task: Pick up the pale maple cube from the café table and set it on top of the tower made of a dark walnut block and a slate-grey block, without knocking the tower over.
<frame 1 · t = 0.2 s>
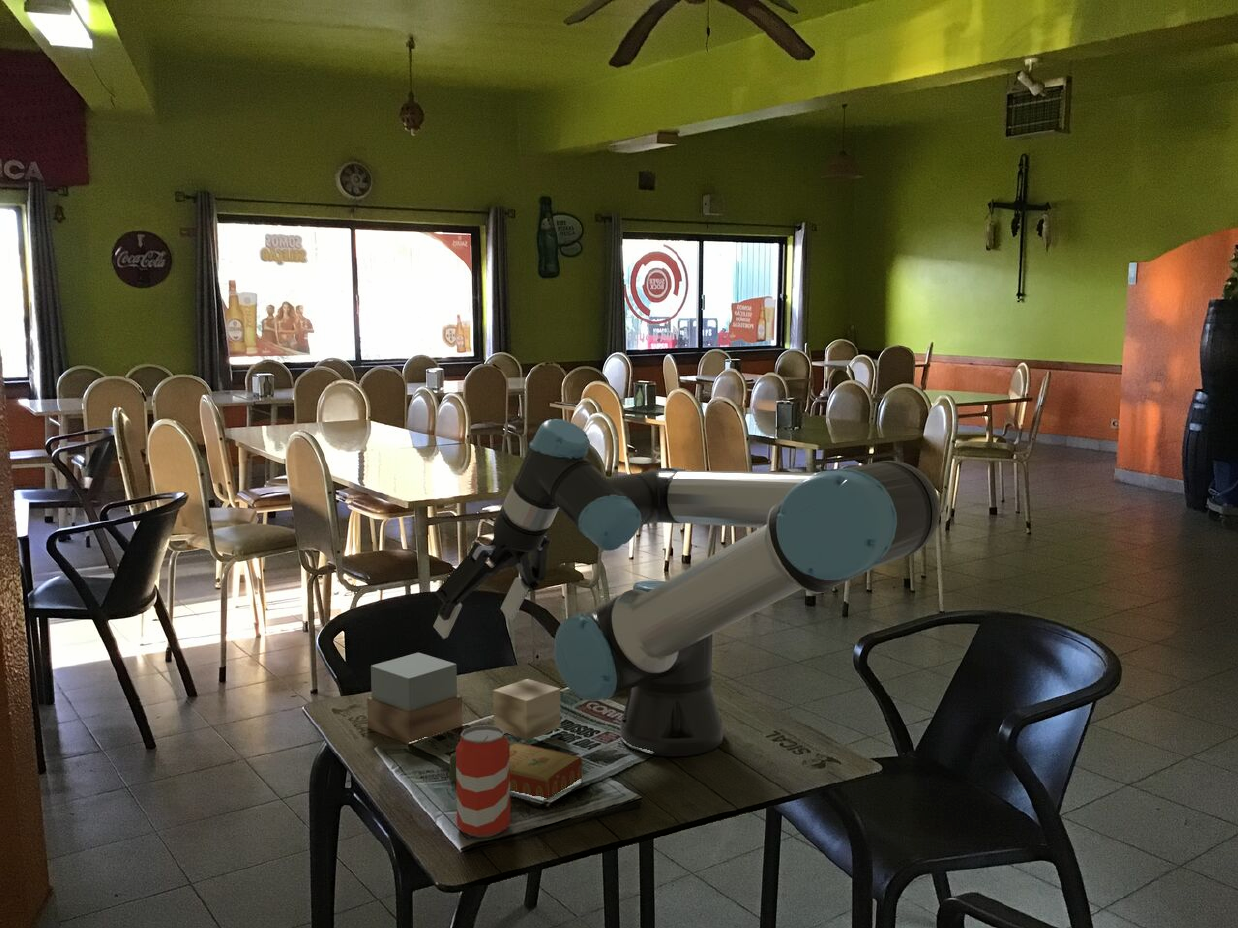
hand: (474, 622, 167), 15 cm above the table, tool tilted 30°, fingers open, 13 cm apart
tower base: (415, 728, 165), on the table, touching tower top
tower top: (414, 697, 165), point 5 cm above the table, touching tower base
carton: (515, 785, 145), on the table
beverage can: (484, 830, 132), on the table
tin: (623, 682, 186), on the table
maple cube: (527, 734, 162), on the table
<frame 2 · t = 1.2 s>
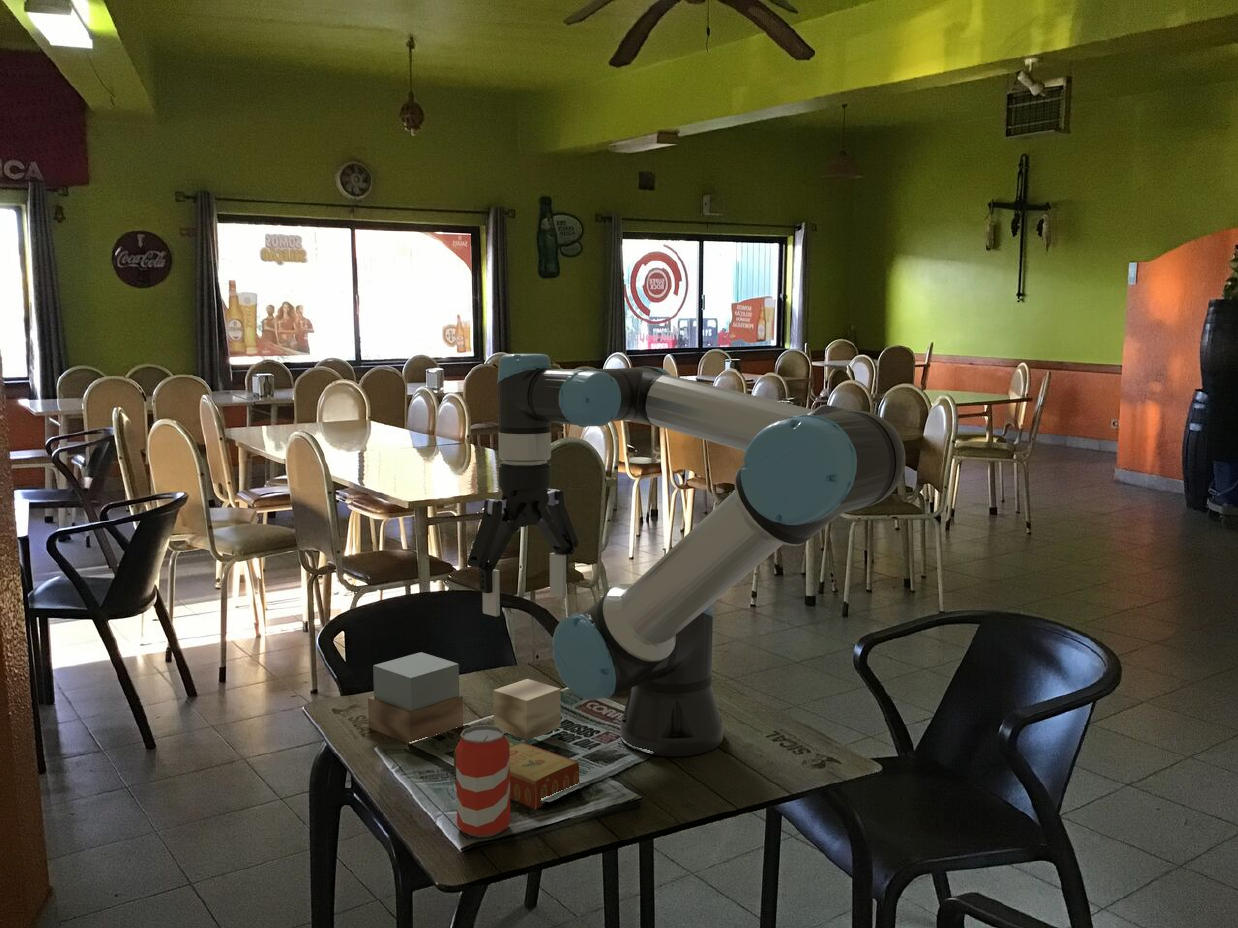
hand: (525, 605, 160), 20 cm above the table, tool pointing down, fingers open, 13 cm apart
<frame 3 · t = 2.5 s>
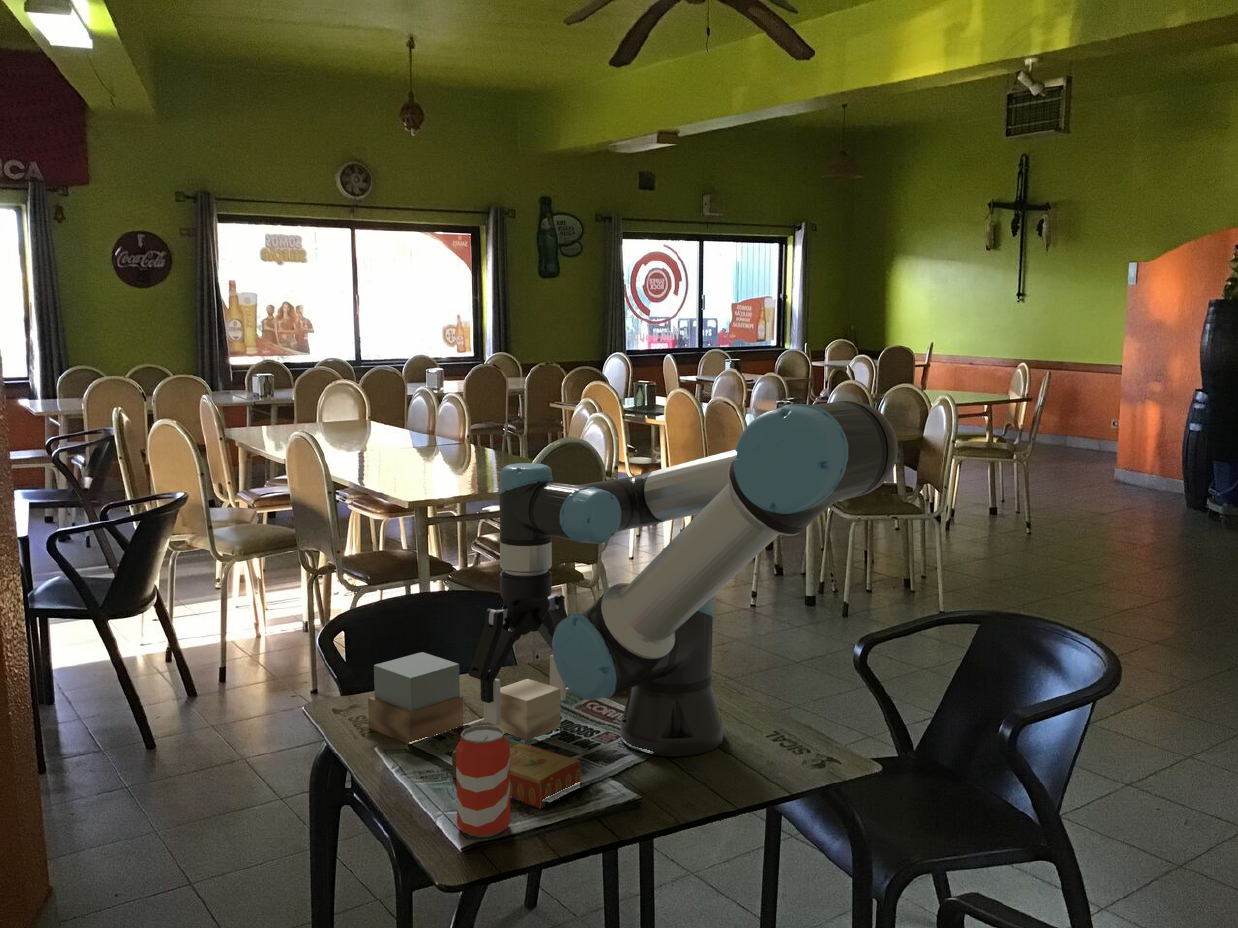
hand: (525, 709, 162), 4 cm above the table, tool pointing down, fingers open, 13 cm apart
nothing on the table moved.
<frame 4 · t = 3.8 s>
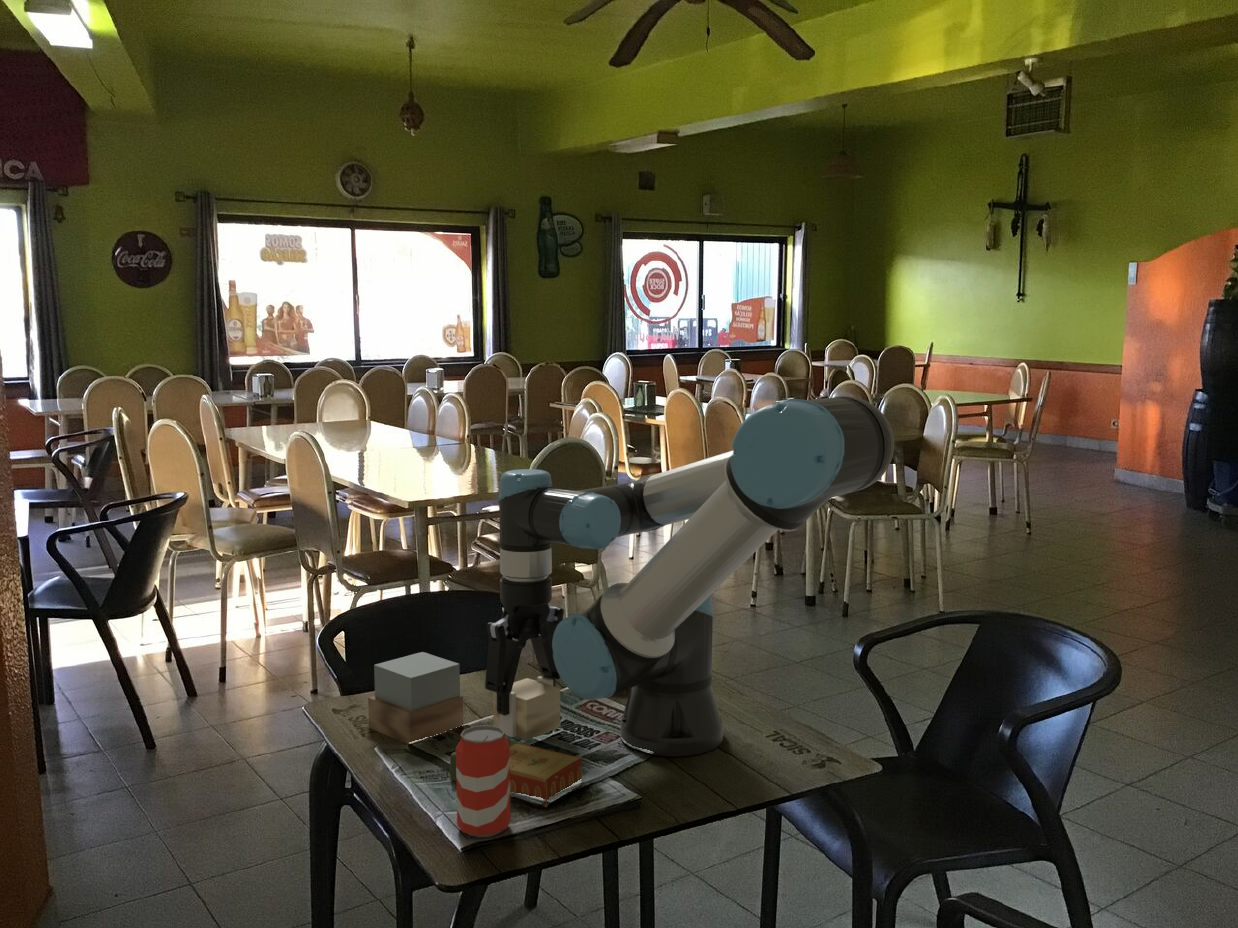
hand: (527, 726, 162), 1 cm above the table, tool pointing down, fingers closed on maple cube, 7 cm apart
maple cube: (527, 734, 162), on the table, touching gripper
everything else where it was.
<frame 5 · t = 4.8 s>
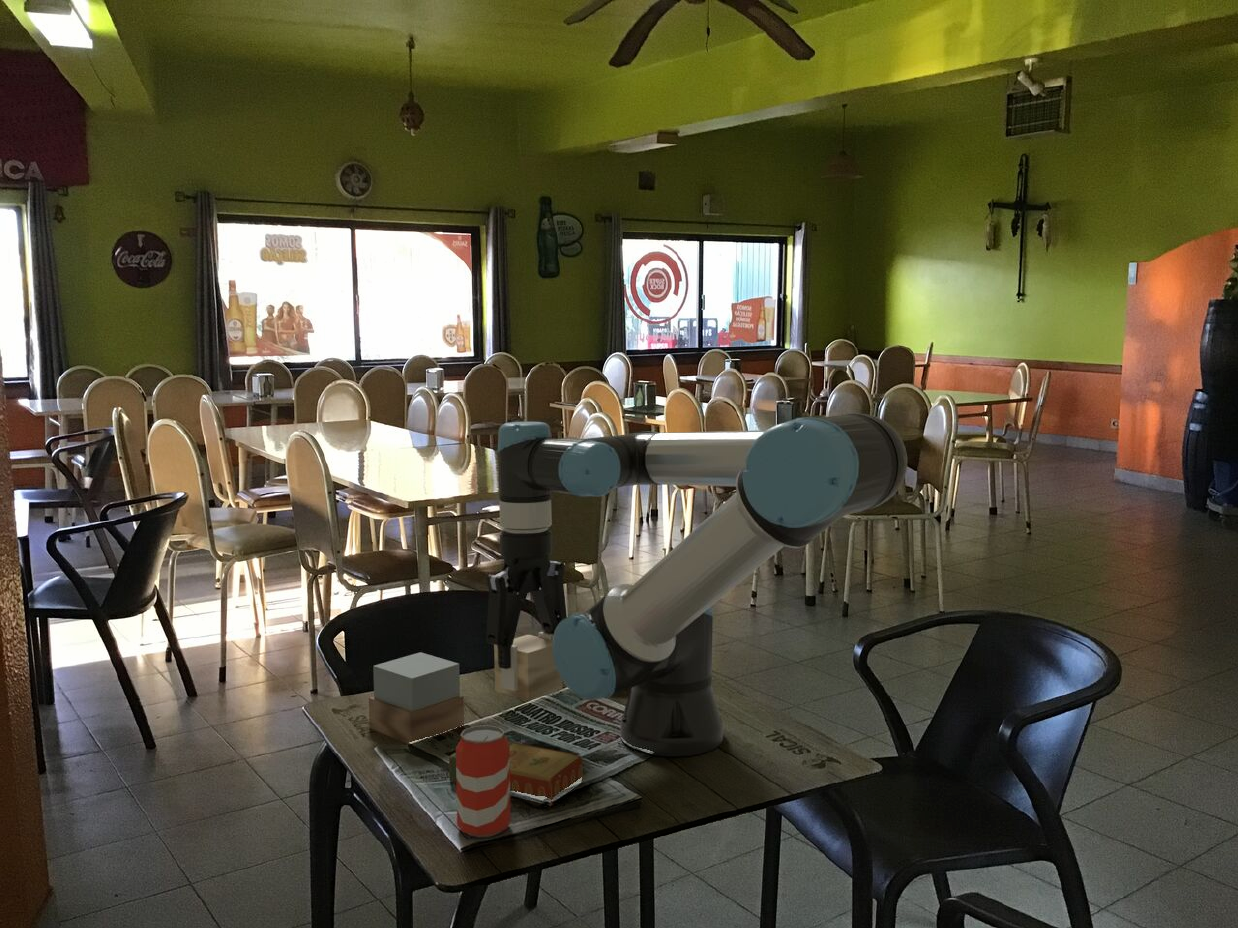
hand: (528, 681, 161), 8 cm above the table, tool pointing down, fingers closed on maple cube, 7 cm apart
tower base: (416, 728, 165), on the table
tower top: (417, 696, 164), point 5 cm above the table
maple cube: (528, 689, 161), point 7 cm above the table, touching gripper
everything else where it was.
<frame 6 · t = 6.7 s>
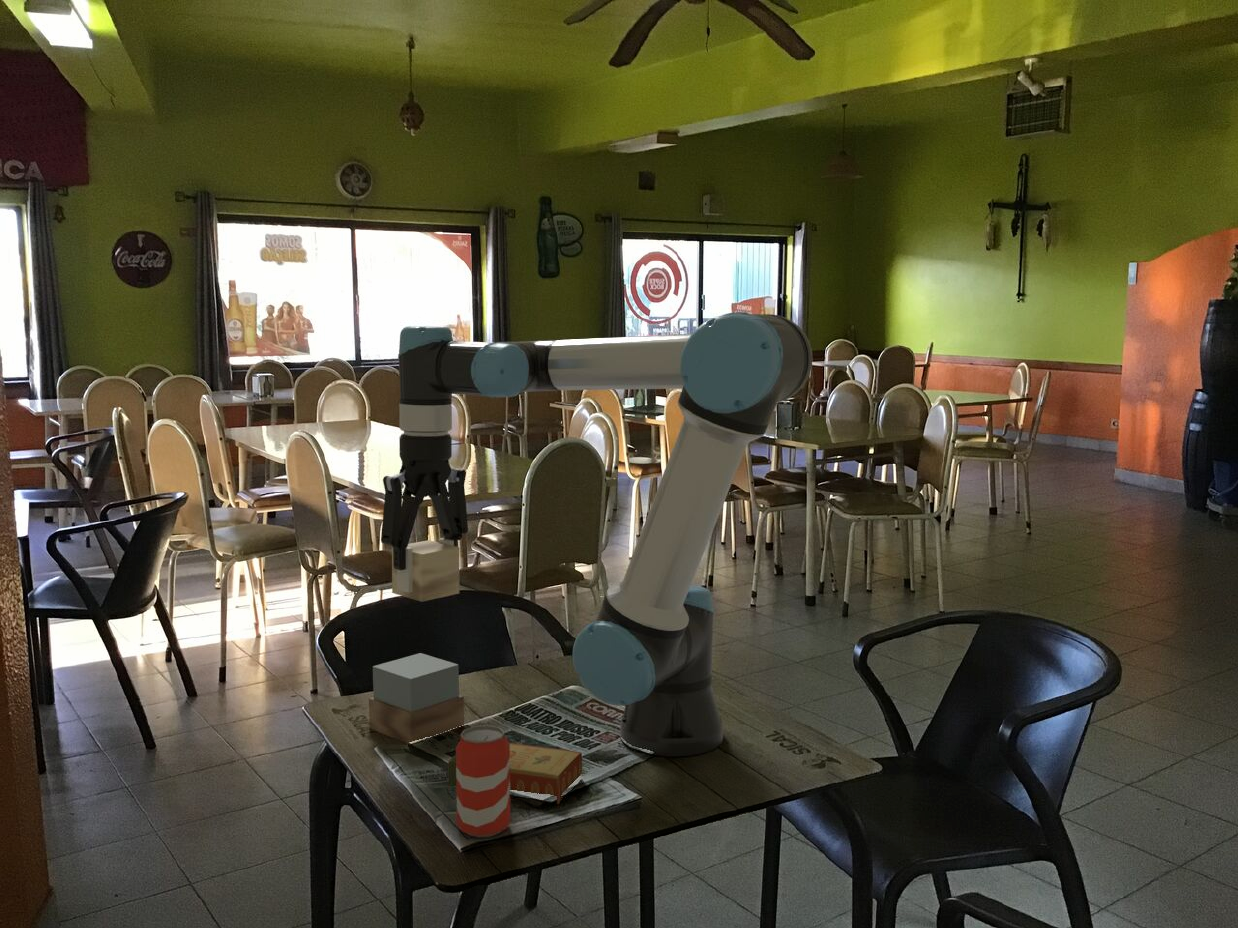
hand: (425, 585, 162), 22 cm above the table, tool pointing down, fingers closed on maple cube, 7 cm apart
tower base: (417, 728, 165), on the table, touching tower top
tower top: (416, 697, 164), point 5 cm above the table, touching tower base
maple cube: (425, 593, 162), point 21 cm above the table, touching gripper
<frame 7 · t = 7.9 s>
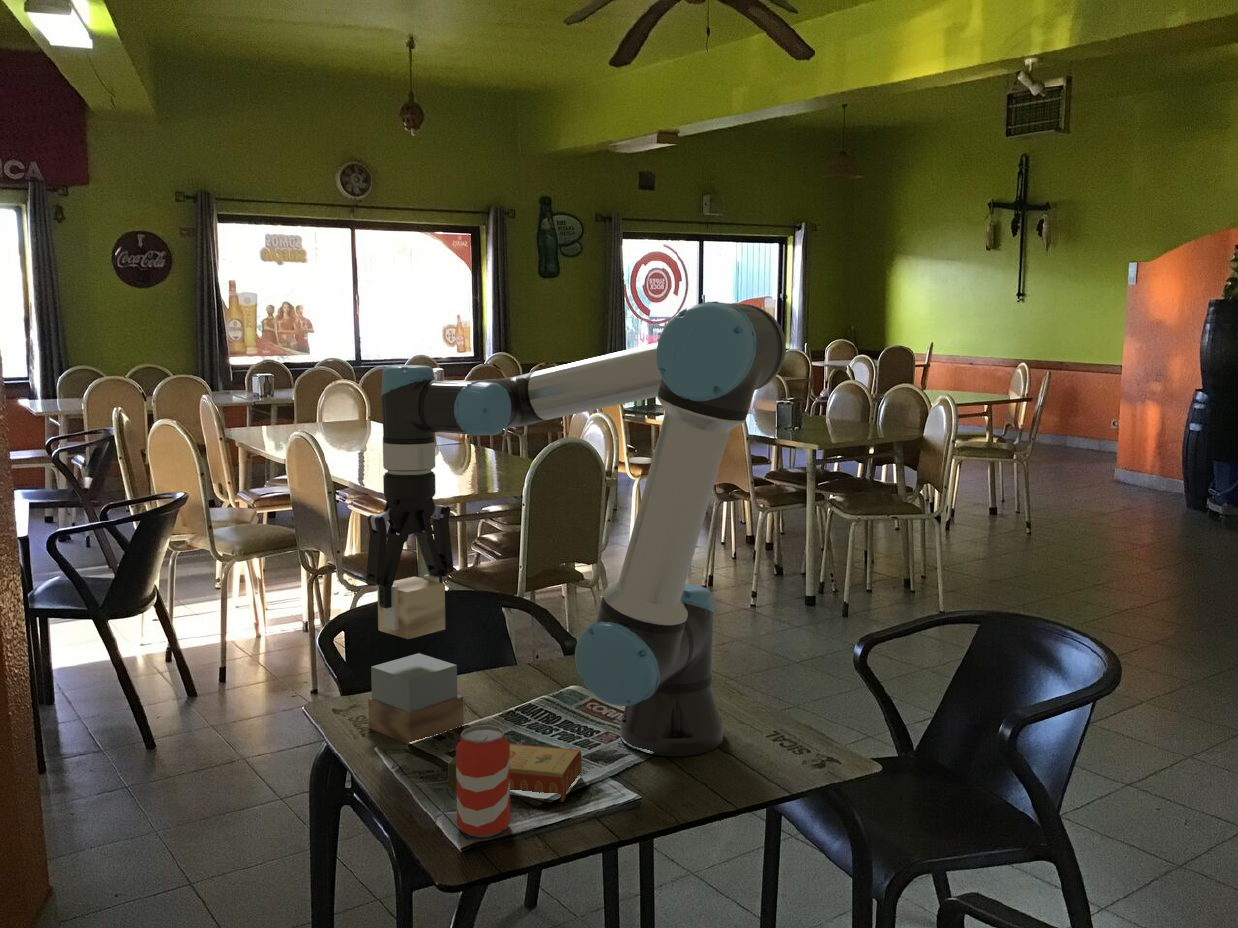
hand: (411, 622, 163), 16 cm above the table, tool pointing down, fingers closed on maple cube, 7 cm apart
maple cube: (411, 629, 163), point 15 cm above the table, touching gripper
when the fingers open (13 cm above the table, at t = 9.3 s): maple cube drops 2 cm, resting on tower top.
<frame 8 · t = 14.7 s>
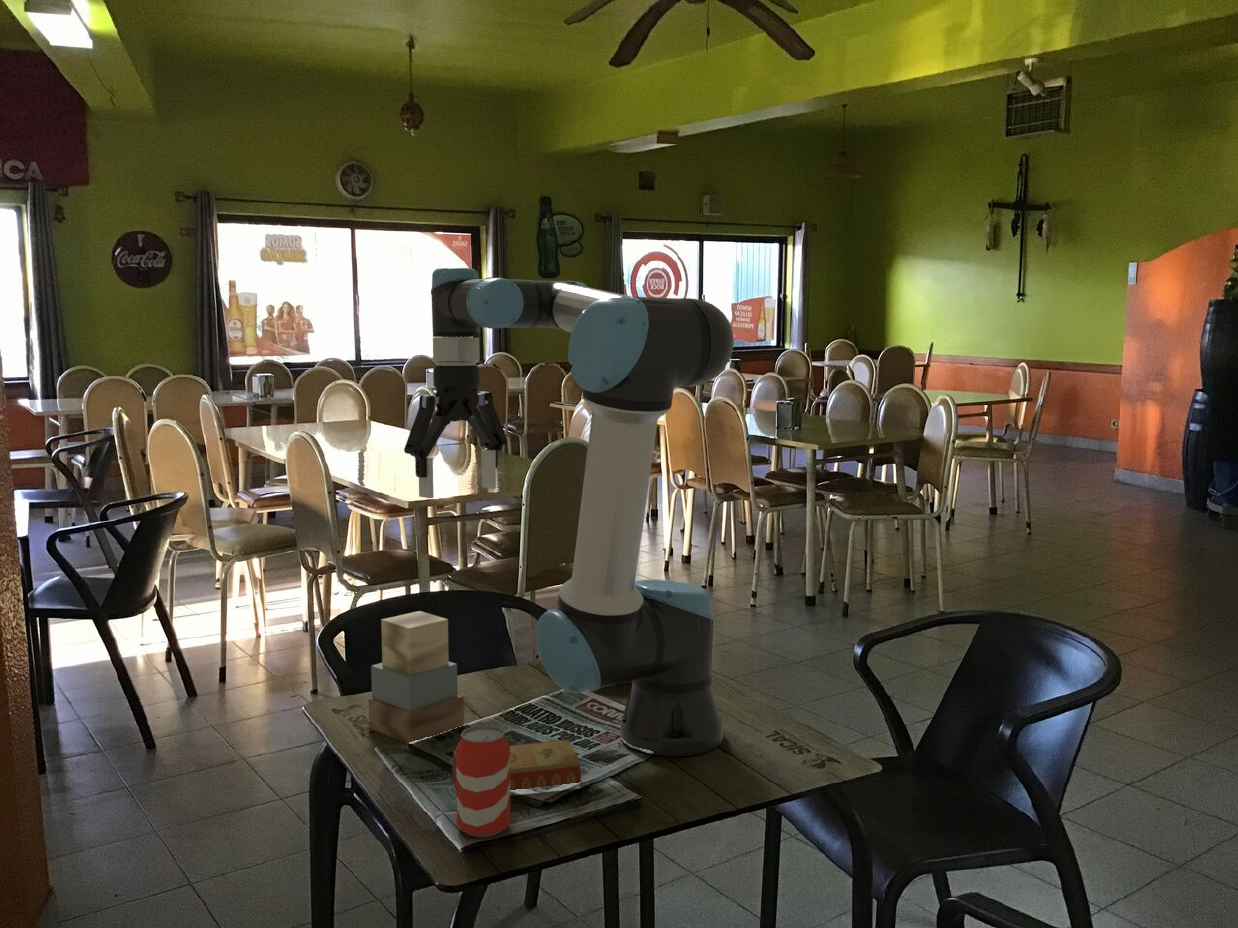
hand: (458, 492, 181), 33 cm above the table, tool pointing down, fingers open, 13 cm apart
tower top: (414, 696, 164), point 5 cm above the table, touching maple cube, tower base
maple cube: (415, 664, 164), point 10 cm above the table, touching tower top
at the end: maple cube 0.1 cm off-centre on the tower base, point 10.0 cm above the tower base's base; maple cube tilted 0°; tower top moved 0.4 cm from its start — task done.
